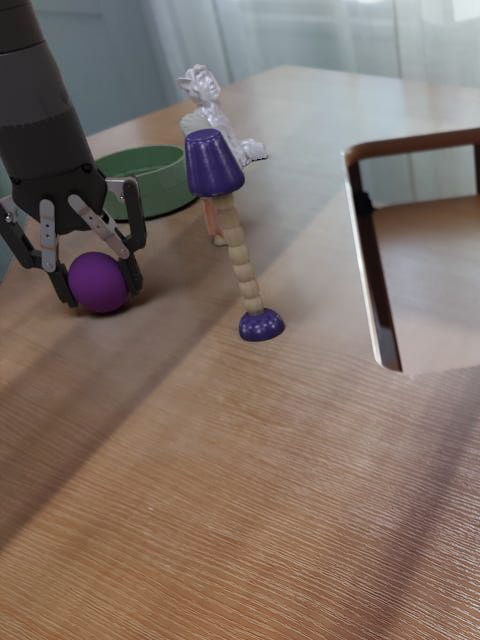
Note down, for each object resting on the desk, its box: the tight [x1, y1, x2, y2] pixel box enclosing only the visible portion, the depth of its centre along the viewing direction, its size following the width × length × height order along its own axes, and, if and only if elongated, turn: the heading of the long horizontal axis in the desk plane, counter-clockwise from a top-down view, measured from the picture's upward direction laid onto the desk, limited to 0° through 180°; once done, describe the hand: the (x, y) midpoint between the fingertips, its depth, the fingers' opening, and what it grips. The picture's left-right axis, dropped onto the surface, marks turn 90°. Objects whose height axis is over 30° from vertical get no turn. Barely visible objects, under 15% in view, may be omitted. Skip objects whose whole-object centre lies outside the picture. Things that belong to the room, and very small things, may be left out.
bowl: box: [94, 143, 197, 221], centre depth 109 cm, size 13×13×5 cm
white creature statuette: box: [176, 63, 268, 171], centre depth 115 cm, size 10×9×12 cm
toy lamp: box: [184, 129, 286, 342], centre depth 75 cm, size 5×5×17 cm
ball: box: [67, 251, 130, 314], centre depth 86 cm, size 6×6×6 cm
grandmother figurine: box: [179, 112, 228, 247], centre depth 95 cm, size 8×4×13 cm, turn 6°
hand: (105, 298), depth 87 cm, fingers closed on ball, 5 cm apart
